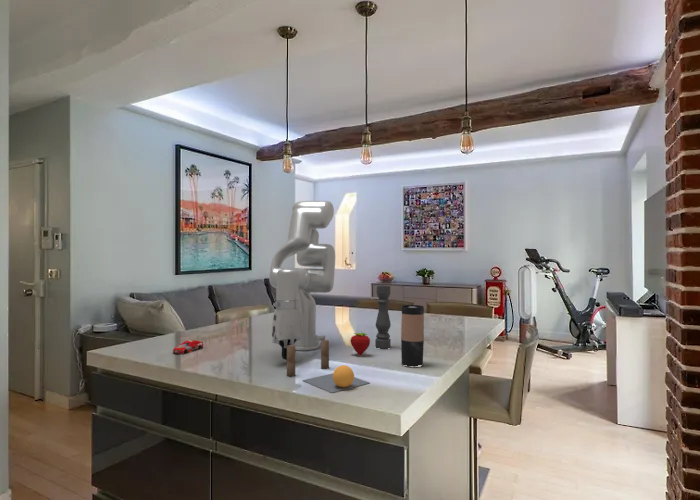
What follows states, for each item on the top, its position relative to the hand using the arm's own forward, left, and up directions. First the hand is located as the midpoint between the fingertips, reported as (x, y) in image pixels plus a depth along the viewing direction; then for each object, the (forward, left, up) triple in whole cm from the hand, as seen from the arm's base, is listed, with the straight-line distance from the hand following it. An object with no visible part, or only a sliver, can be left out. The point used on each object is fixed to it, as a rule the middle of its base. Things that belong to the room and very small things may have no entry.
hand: (286, 358), depth 142 cm
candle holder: (-44, +3, -2) cm, 44 cm away
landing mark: (0, +27, -2) cm, 27 cm away
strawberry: (-28, +7, -2) cm, 28 cm away
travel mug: (-33, +28, -2) cm, 43 cm away
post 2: (-7, +13, -2) cm, 15 cm away
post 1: (+6, +13, -2) cm, 15 cm away
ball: (+1, +32, +2) cm, 32 cm away
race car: (+19, -39, -2) cm, 44 cm away
